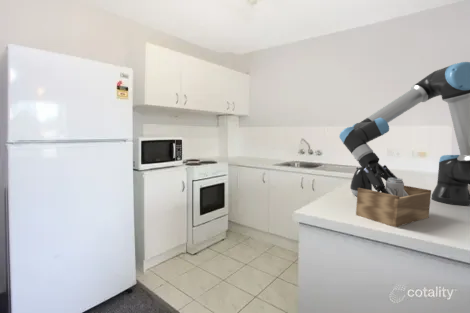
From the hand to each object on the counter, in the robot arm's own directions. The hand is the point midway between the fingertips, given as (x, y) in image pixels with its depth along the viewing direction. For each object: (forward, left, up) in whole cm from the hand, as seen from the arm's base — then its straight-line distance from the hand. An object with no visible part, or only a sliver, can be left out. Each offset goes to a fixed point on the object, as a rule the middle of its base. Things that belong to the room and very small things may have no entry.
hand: (402, 202), depth 97 cm
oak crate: (+2, -2, -6) cm, 7 cm away
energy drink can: (+2, -2, -6) cm, 7 cm away
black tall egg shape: (+4, -35, -6) cm, 36 cm away
